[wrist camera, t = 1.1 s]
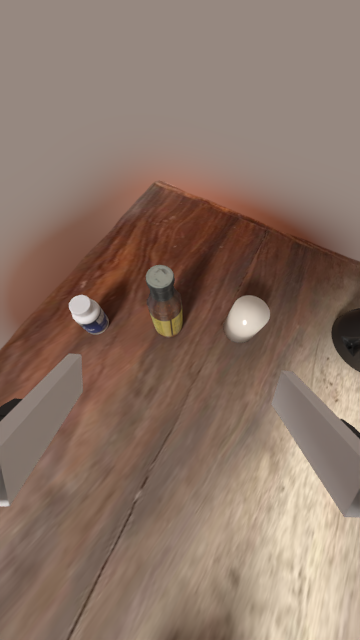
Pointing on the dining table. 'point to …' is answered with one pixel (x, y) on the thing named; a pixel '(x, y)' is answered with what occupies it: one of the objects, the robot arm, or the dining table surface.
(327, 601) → the dining table surface
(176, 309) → the sauce bottle
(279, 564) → the dining table surface
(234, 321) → the white rounded cylinder
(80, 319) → the pill bottle
